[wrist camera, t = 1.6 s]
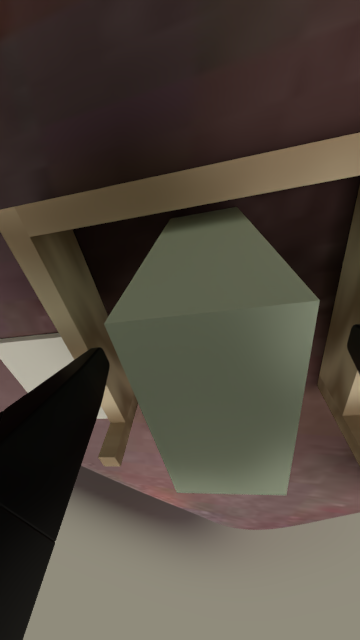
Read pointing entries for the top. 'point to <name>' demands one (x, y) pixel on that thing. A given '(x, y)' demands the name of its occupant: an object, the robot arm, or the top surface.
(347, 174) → the rack
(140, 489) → the top surface
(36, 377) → the grey mat
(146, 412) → the sage green prism
